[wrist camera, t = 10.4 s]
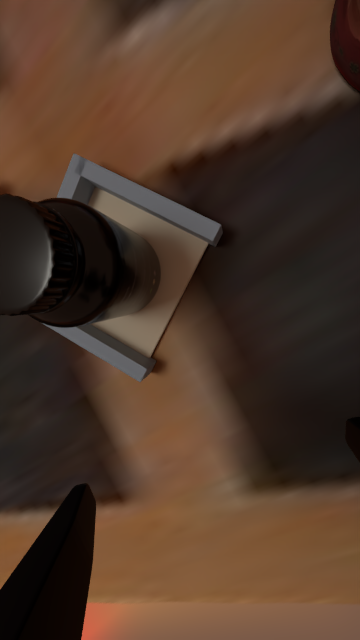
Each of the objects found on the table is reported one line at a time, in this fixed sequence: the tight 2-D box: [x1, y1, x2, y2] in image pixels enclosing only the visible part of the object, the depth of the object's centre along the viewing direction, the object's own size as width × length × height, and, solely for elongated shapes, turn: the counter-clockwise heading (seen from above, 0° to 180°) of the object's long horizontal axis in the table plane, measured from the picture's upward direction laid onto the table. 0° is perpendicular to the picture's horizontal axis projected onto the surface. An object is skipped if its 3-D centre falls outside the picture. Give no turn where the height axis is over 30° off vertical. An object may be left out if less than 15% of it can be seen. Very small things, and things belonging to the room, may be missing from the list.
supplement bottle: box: [0, 194, 161, 328], centre depth 16 cm, size 7×7×12 cm
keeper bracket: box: [43, 154, 223, 382], centre depth 21 cm, size 12×13×2 cm
